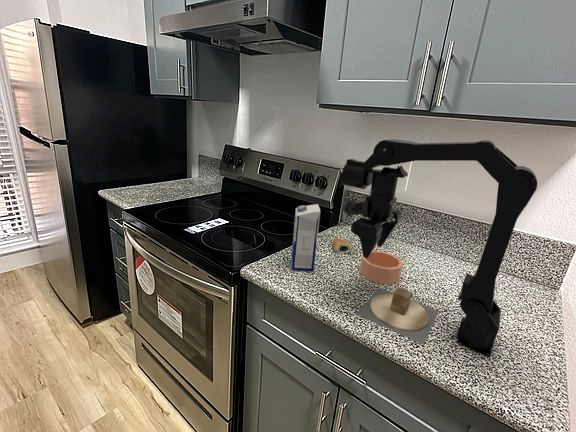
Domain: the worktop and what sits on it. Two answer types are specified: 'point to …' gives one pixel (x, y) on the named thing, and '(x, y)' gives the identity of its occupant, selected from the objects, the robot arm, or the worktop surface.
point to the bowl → (381, 268)
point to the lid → (399, 311)
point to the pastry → (341, 246)
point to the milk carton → (305, 237)
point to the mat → (414, 335)
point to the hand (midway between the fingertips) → (372, 251)
